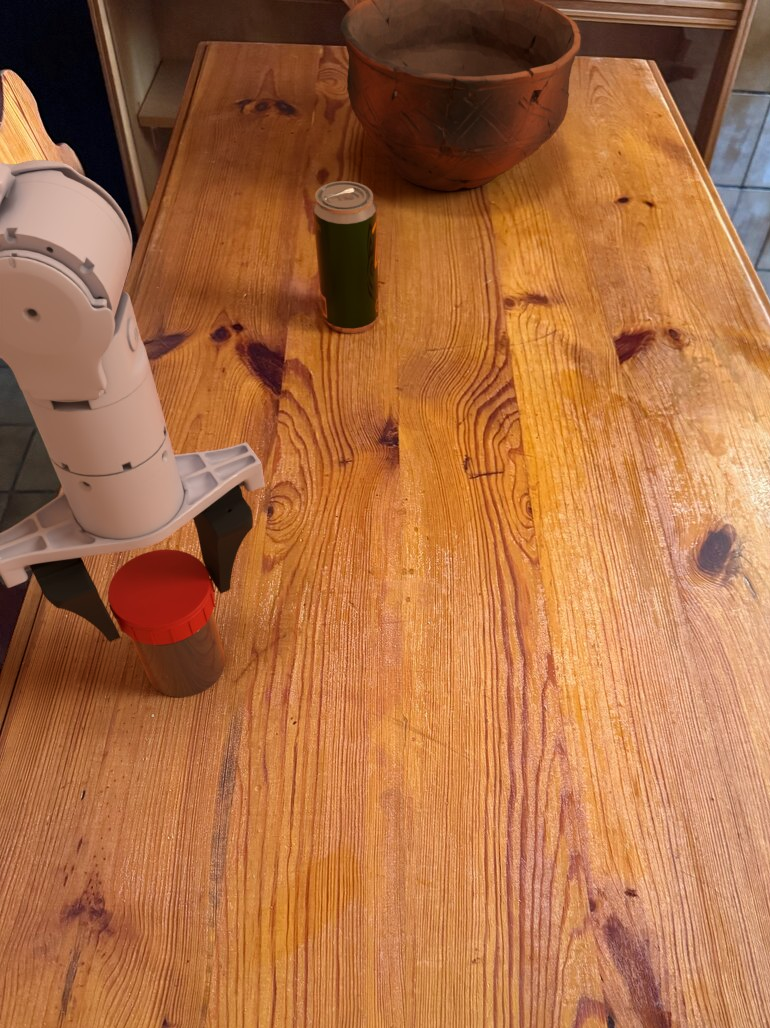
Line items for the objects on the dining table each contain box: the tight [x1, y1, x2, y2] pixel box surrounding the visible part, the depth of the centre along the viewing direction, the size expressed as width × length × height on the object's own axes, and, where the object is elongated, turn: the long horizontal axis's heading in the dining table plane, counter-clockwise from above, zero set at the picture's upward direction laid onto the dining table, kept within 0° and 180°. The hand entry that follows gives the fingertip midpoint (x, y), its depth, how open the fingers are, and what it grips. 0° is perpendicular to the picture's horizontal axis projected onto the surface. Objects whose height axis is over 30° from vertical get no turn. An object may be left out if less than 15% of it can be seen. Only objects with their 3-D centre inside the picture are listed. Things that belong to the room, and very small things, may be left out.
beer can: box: [312, 180, 380, 334], centre depth 80 cm, size 5×5×12 cm
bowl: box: [339, 0, 582, 192], centre depth 97 cm, size 25×25×15 cm
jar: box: [130, 611, 226, 698], centre depth 57 cm, size 5×5×8 cm
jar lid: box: [107, 548, 216, 645], centre depth 54 cm, size 6×6×2 cm
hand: (165, 604), depth 54 cm, fingers open, 6 cm apart
